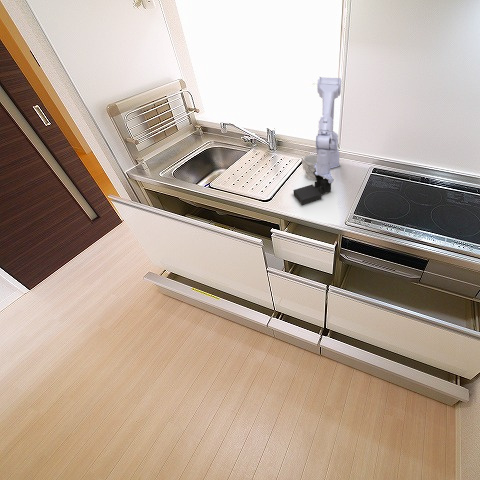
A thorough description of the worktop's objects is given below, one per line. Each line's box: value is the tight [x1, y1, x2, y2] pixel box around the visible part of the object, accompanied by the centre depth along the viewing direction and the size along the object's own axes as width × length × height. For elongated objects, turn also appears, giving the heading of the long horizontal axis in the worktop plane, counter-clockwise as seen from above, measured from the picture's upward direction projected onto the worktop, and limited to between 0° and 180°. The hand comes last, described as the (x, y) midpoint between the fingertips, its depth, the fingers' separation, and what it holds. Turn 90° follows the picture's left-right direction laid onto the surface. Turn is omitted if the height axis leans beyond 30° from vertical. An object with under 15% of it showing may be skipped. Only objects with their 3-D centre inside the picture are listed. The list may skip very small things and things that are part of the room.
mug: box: [301, 154, 317, 181], centre depth 132 cm, size 11×8×10 cm
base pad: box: [293, 184, 322, 206], centre depth 121 cm, size 12×9×3 cm
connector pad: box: [314, 180, 332, 196], centre depth 123 cm, size 6×5×4 cm
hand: (322, 188), depth 123 cm, fingers closed on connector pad, 5 cm apart
